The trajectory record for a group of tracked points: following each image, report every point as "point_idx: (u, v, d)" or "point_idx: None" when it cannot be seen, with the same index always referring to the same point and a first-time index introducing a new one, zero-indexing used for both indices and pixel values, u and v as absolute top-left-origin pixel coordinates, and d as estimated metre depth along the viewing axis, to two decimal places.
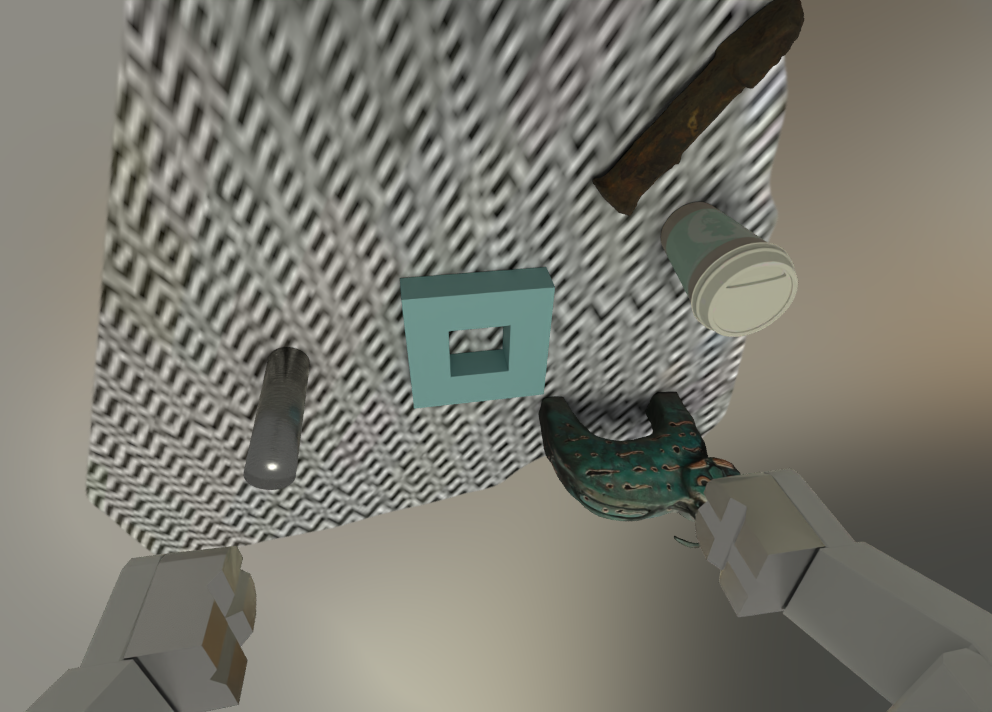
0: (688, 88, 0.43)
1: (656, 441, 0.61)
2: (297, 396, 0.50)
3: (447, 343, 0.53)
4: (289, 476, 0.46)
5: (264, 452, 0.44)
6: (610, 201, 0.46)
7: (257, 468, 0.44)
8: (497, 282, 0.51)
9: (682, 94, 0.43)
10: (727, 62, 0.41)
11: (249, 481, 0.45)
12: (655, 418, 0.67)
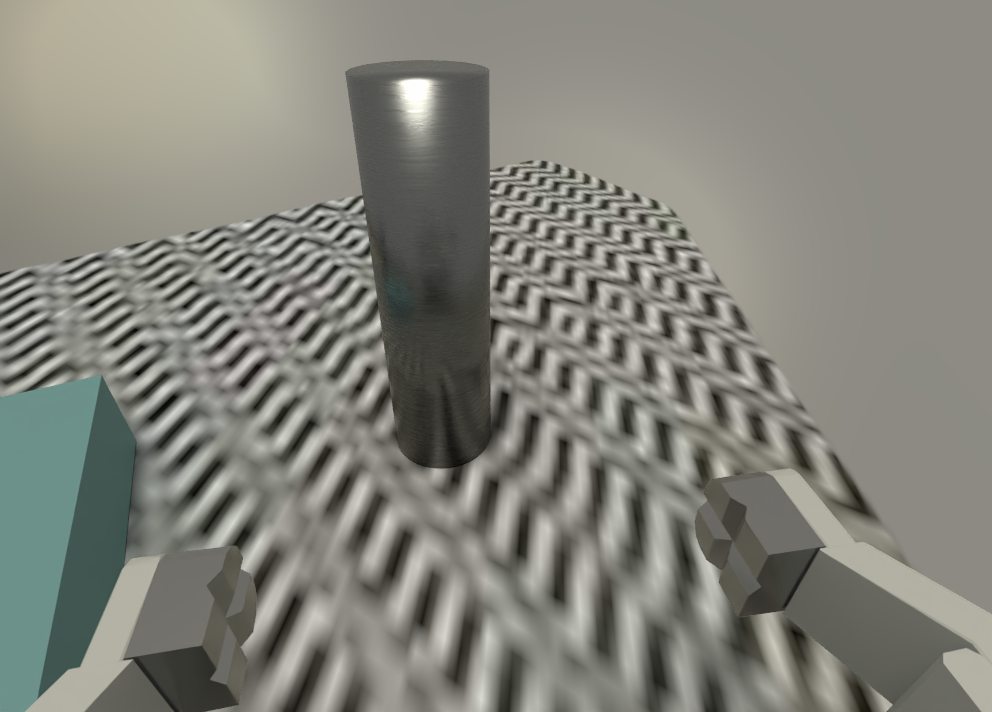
0: None
1: None
2: (399, 333, 0.19)
3: None
4: (363, 71, 0.15)
5: (445, 114, 0.14)
6: None
7: (455, 74, 0.15)
8: None
9: None
10: None
11: (468, 64, 0.16)
12: None
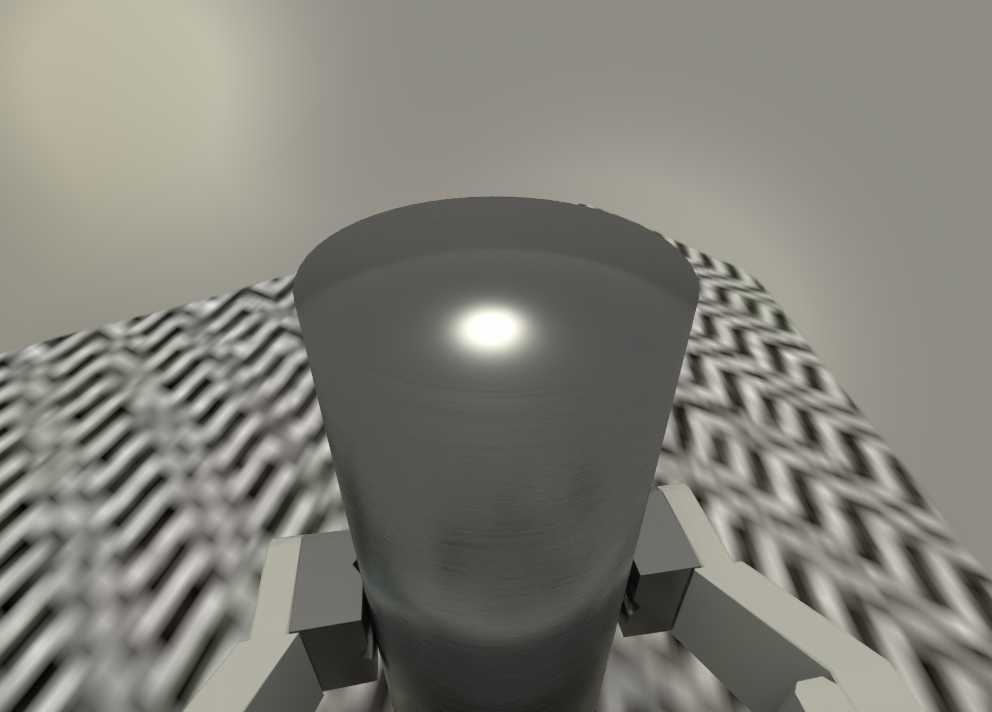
0: None
1: None
2: None
3: None
4: (345, 270, 0.05)
5: (599, 442, 0.05)
6: None
7: (612, 295, 0.05)
8: None
9: None
10: None
11: (610, 220, 0.07)
12: None
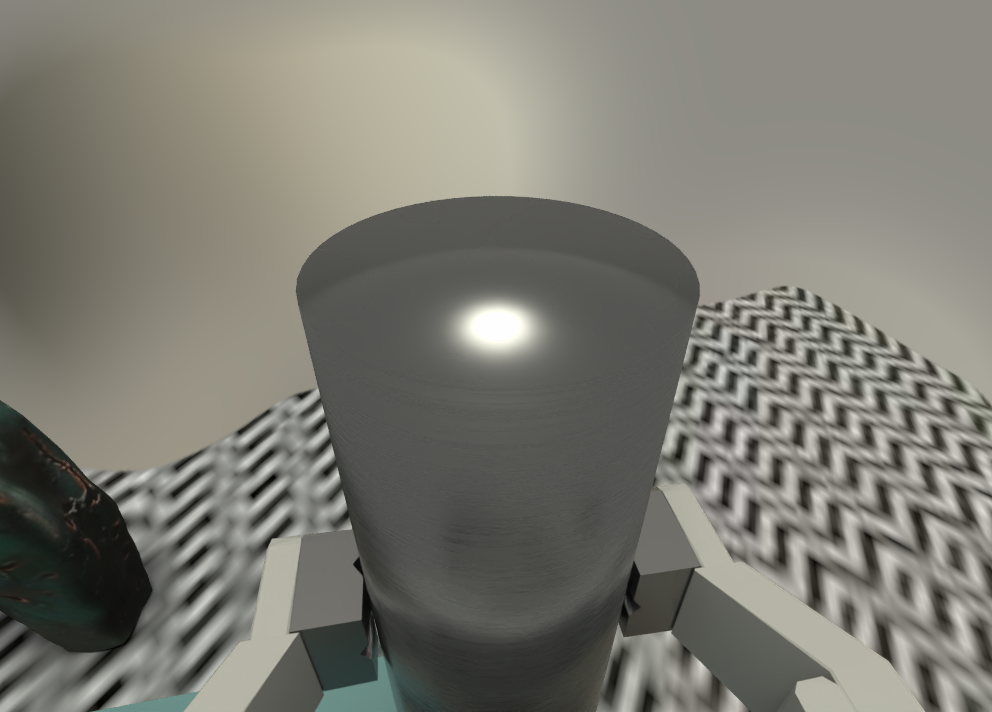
0: None
1: None
2: None
3: None
4: (348, 270, 0.06)
5: (599, 440, 0.05)
6: None
7: (613, 294, 0.05)
8: None
9: None
10: None
11: (611, 220, 0.07)
12: None
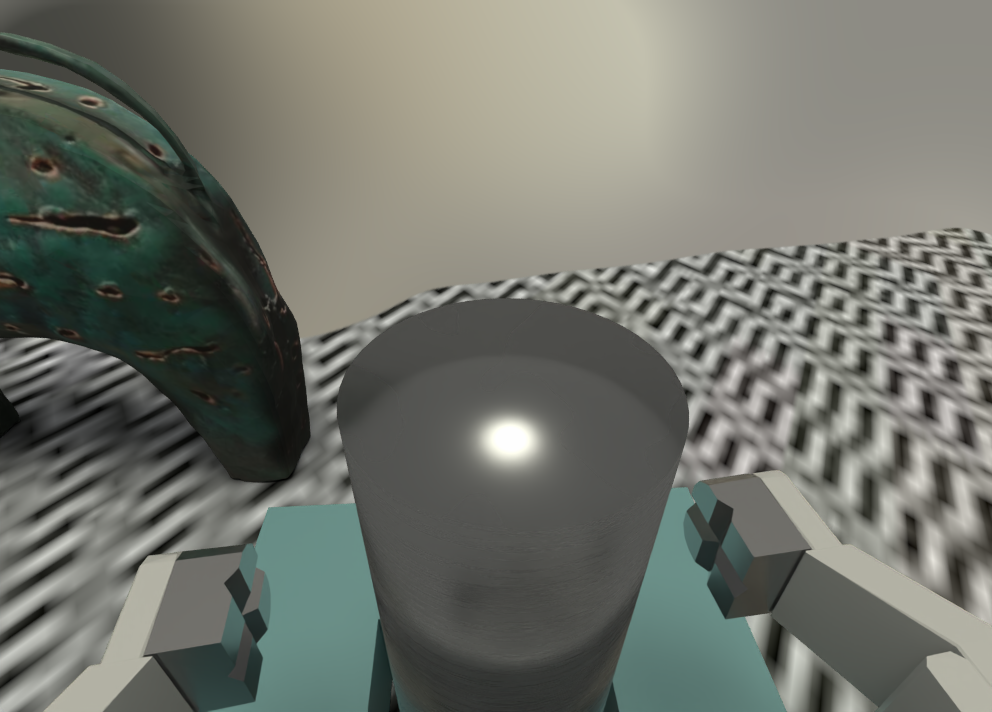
0: None
1: None
2: None
3: None
4: (380, 392, 0.06)
5: (601, 560, 0.05)
6: None
7: (614, 424, 0.06)
8: None
9: None
10: None
11: (612, 330, 0.07)
12: None
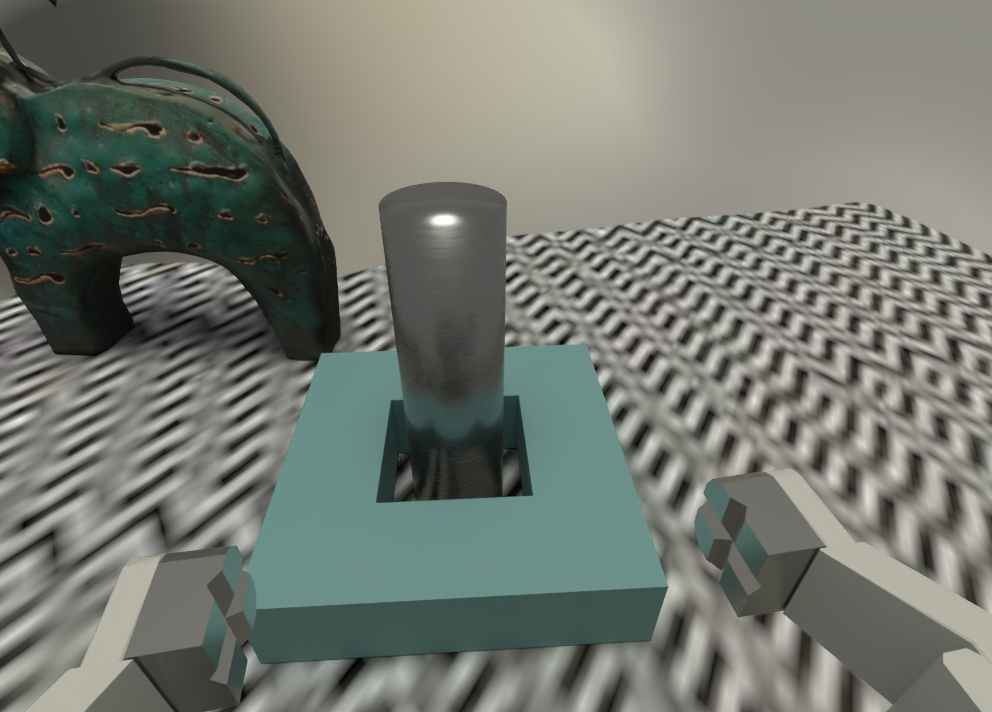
0: None
1: (89, 239, 0.29)
2: (422, 421, 0.20)
3: (532, 466, 0.22)
4: (394, 204, 0.17)
5: (469, 249, 0.16)
6: None
7: (477, 210, 0.17)
8: (400, 627, 0.18)
9: None
10: None
11: (487, 190, 0.18)
12: (107, 303, 0.34)
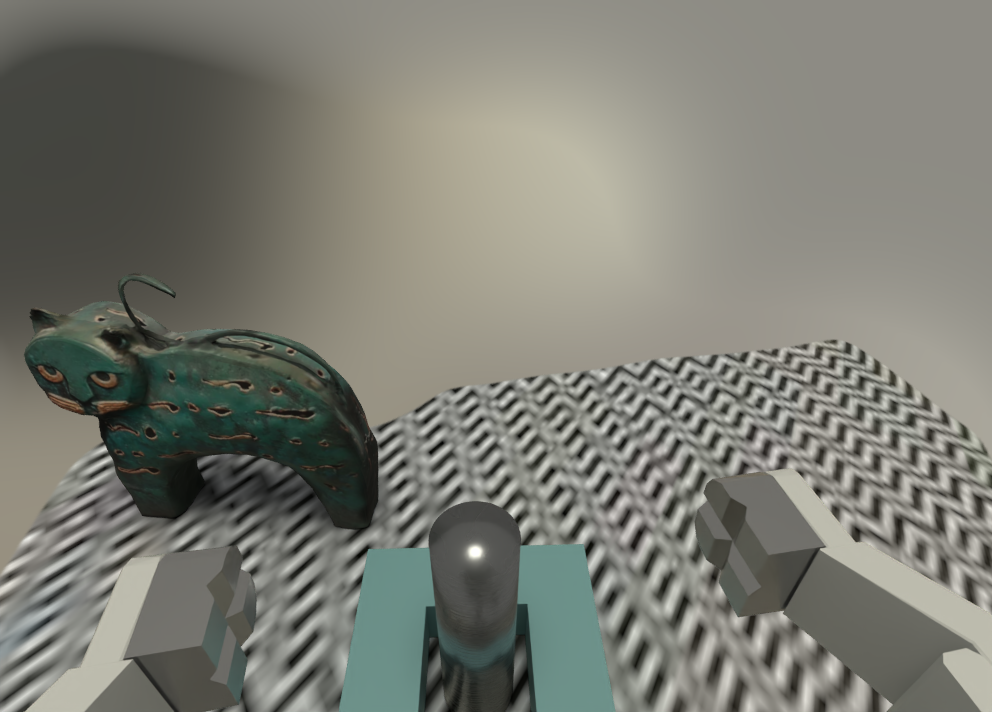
0: None
1: (183, 448, 0.36)
2: (453, 664, 0.27)
3: (537, 684, 0.29)
4: (439, 540, 0.24)
5: (493, 586, 0.23)
6: None
7: (499, 551, 0.23)
8: None
9: None
10: None
11: (506, 516, 0.25)
12: (187, 476, 0.41)
